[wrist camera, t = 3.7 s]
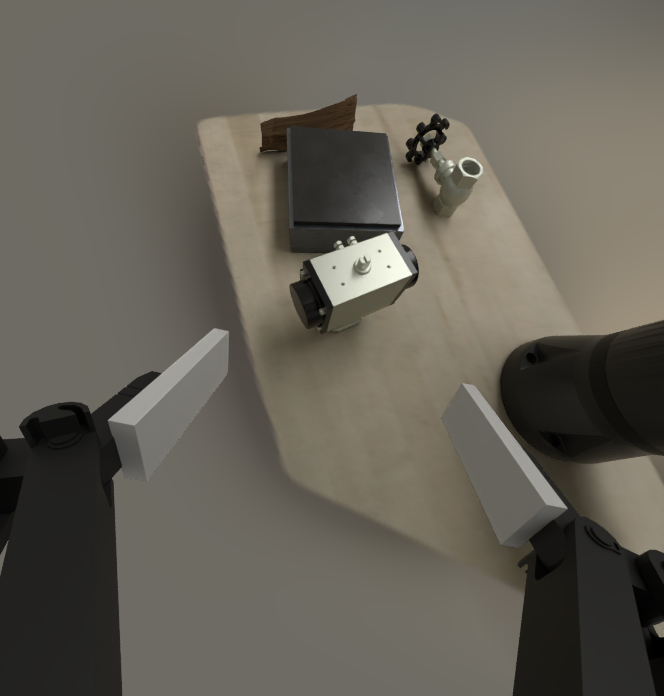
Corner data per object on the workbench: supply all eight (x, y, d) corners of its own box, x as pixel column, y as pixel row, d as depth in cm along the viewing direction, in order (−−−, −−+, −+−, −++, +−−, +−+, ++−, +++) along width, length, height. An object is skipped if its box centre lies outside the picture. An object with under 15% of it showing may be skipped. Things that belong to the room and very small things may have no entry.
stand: (391, 253, 35) (405, 227, 30) (291, 252, 33) (289, 224, 28) (378, 166, 39) (389, 131, 34) (288, 160, 37) (286, 122, 32)
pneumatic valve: (389, 316, 32) (438, 259, 21) (307, 351, 30) (310, 310, 18) (370, 280, 33) (405, 208, 22) (289, 312, 31) (281, 249, 19)
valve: (467, 214, 39) (432, 157, 41) (499, 174, 32) (455, 110, 35) (431, 223, 37) (397, 164, 40) (457, 184, 31) (415, 116, 33)
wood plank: (347, 128, 41) (353, 89, 36) (353, 137, 40) (360, 99, 35) (260, 153, 37) (254, 114, 32) (266, 163, 37) (261, 124, 32)
